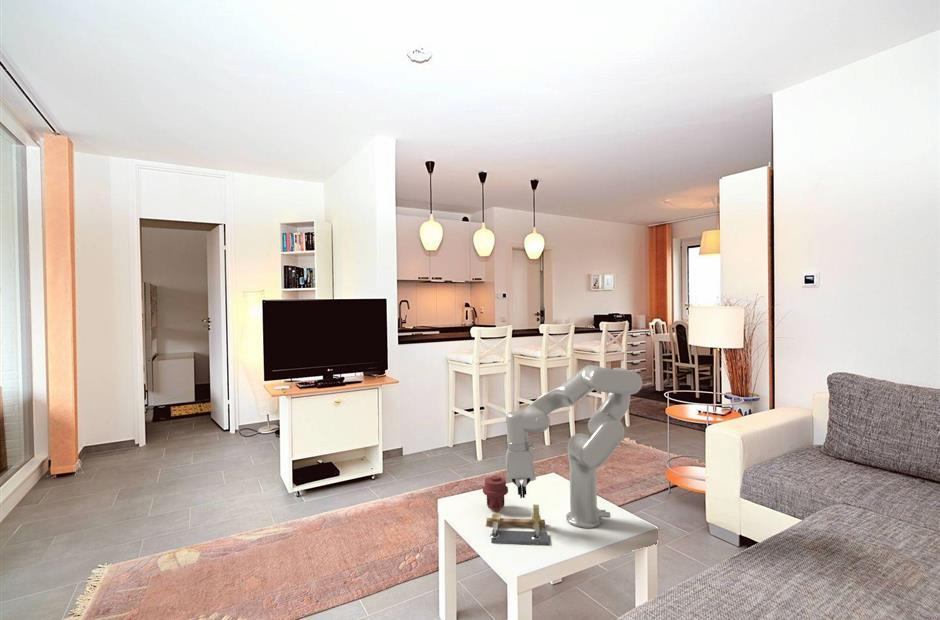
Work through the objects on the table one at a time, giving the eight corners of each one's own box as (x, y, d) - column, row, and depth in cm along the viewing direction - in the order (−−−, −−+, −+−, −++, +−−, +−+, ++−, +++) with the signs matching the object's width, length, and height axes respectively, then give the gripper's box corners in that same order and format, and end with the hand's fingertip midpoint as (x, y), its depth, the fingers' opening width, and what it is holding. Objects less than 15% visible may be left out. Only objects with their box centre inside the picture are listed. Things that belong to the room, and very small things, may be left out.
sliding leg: (540, 523, 167) (540, 503, 167) (542, 540, 154) (541, 519, 154) (532, 522, 167) (531, 503, 167) (533, 540, 154) (532, 519, 154)
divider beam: (544, 523, 166) (544, 514, 166) (546, 541, 154) (546, 532, 154) (487, 521, 169) (487, 513, 169) (484, 539, 156) (484, 529, 156)
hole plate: (547, 534, 158) (547, 531, 158) (548, 545, 151) (548, 541, 151) (490, 532, 160) (490, 529, 160) (489, 542, 153) (489, 539, 153)
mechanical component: (502, 516, 173) (478, 511, 178) (512, 506, 182) (489, 501, 187) (501, 483, 173) (478, 479, 178) (511, 475, 182) (489, 471, 187)
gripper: (538, 442, 168) (542, 491, 168) (498, 444, 170) (502, 493, 170) (539, 448, 161) (543, 500, 161) (497, 450, 163) (501, 501, 163)
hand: (522, 496), depth 165 cm, fingers closed
